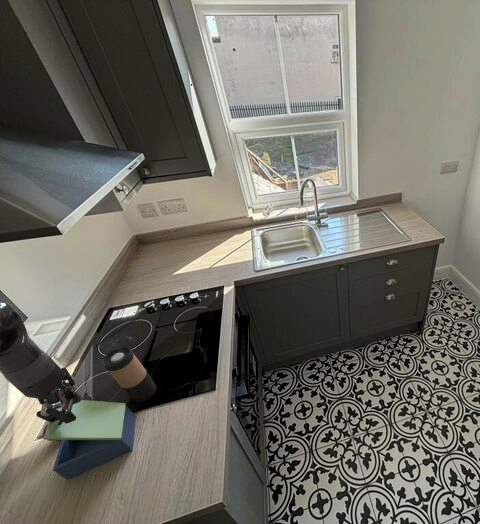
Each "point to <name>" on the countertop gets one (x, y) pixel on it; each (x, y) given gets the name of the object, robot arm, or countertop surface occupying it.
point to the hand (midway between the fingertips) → (74, 411)
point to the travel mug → (129, 374)
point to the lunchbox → (93, 450)
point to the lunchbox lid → (89, 422)
